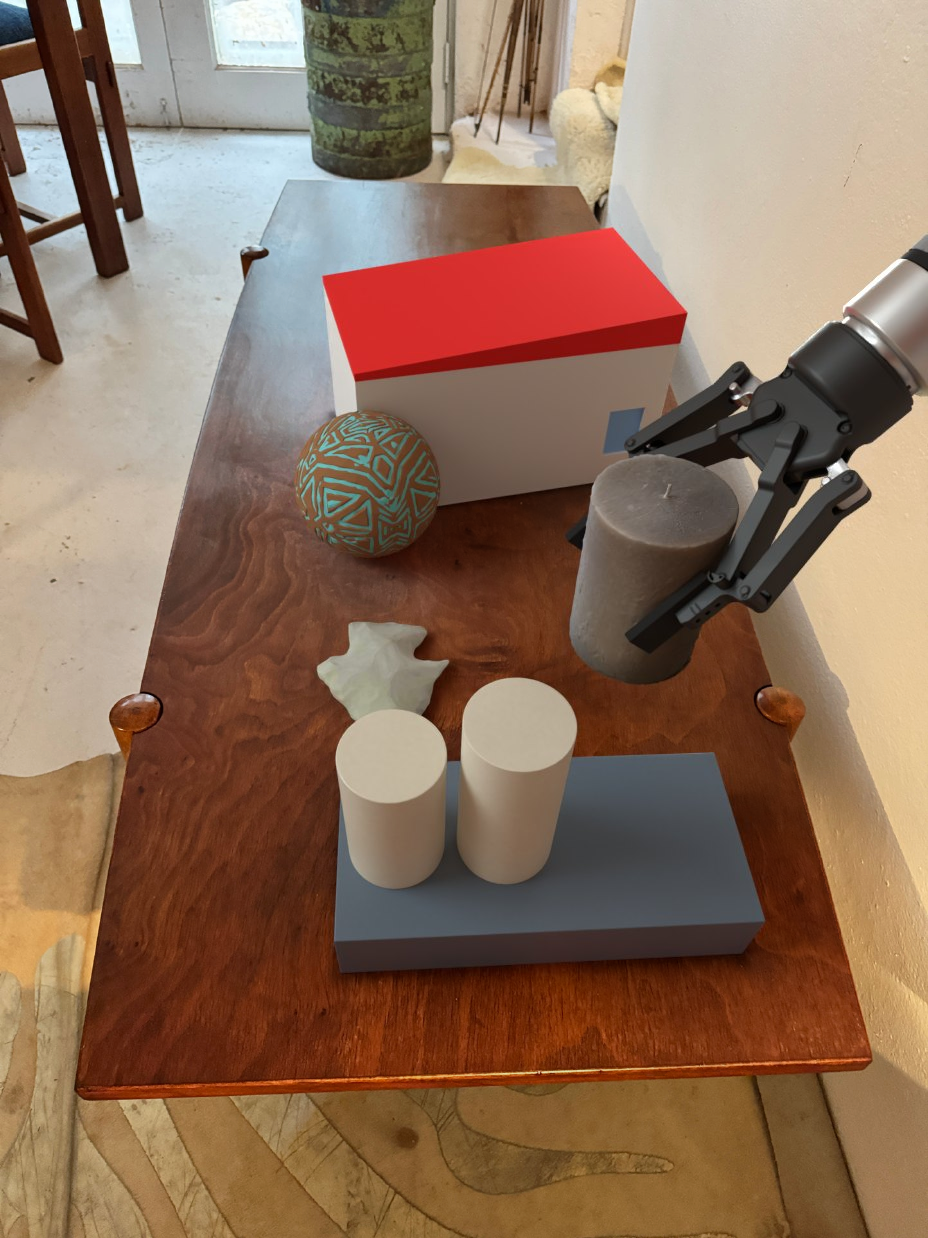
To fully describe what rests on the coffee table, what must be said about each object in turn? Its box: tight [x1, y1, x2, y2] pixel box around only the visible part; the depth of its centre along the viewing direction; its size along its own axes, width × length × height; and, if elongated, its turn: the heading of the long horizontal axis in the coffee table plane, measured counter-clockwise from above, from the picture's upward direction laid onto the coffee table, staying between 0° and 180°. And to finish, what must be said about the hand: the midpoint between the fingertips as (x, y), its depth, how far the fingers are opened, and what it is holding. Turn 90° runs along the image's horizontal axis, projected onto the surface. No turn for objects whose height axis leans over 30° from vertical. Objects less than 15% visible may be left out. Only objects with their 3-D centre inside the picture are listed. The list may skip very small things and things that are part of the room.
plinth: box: [333, 752, 766, 974], centre depth 65 cm, size 30×14×6 cm, turn 93°
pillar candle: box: [568, 454, 740, 686], centre depth 60 cm, size 10×10×15 cm
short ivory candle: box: [335, 709, 448, 889], centre depth 58 cm, size 7×7×12 cm
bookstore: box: [321, 226, 689, 507], centre depth 98 cm, size 21×35×21 cm, turn 105°
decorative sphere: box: [293, 411, 441, 558], centre depth 87 cm, size 15×15×15 cm
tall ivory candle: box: [457, 677, 578, 884], centre depth 57 cm, size 7×7×15 cm
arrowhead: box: [316, 621, 450, 722], centre depth 78 cm, size 12×3×15 cm
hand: (605, 592), depth 60 cm, fingers closed on pillar candle, 10 cm apart
